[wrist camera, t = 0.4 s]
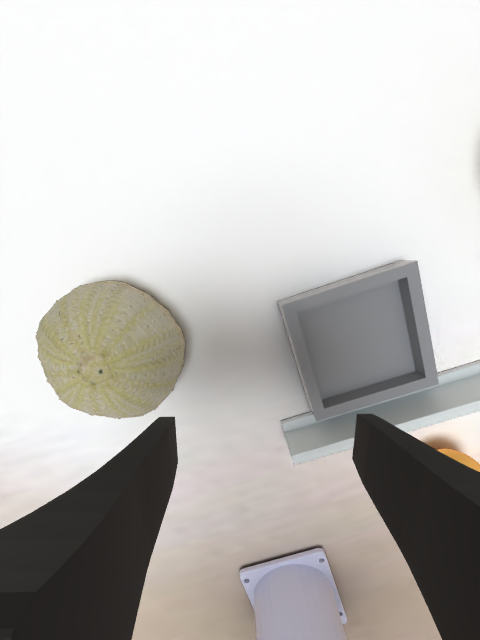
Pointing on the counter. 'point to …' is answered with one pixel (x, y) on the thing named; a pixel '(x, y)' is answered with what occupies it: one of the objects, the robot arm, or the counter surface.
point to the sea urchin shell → (110, 350)
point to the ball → (461, 458)
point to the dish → (361, 339)
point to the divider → (387, 414)
